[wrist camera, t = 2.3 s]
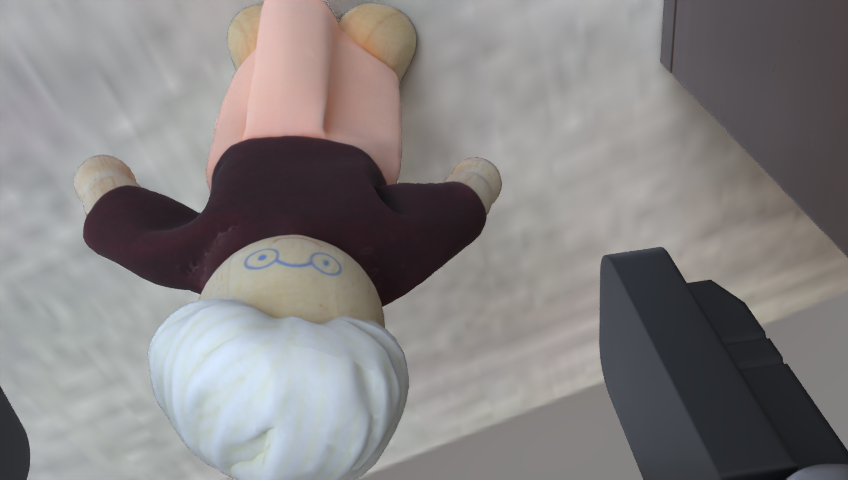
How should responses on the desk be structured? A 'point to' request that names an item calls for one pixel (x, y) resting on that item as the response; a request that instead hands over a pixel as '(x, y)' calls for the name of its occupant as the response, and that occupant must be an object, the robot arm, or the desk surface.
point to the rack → (773, 90)
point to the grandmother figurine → (292, 247)
